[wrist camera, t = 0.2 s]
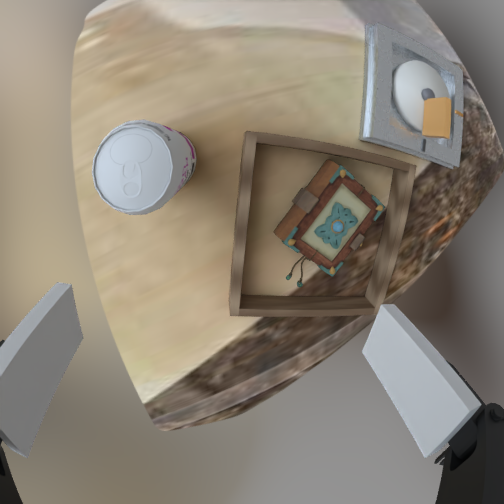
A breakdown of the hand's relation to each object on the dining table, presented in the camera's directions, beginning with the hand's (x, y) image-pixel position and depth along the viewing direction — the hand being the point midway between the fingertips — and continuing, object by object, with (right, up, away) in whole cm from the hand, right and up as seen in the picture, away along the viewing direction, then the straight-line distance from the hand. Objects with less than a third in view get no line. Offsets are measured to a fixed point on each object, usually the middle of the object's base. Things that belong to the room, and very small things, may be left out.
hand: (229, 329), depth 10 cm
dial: (+27, +27, +21) cm, 43 cm away
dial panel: (+27, +28, +22) cm, 45 cm away
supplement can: (-10, +15, +23) cm, 29 cm away
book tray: (+11, +6, +28) cm, 31 cm away
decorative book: (+11, +6, +29) cm, 32 cm away
